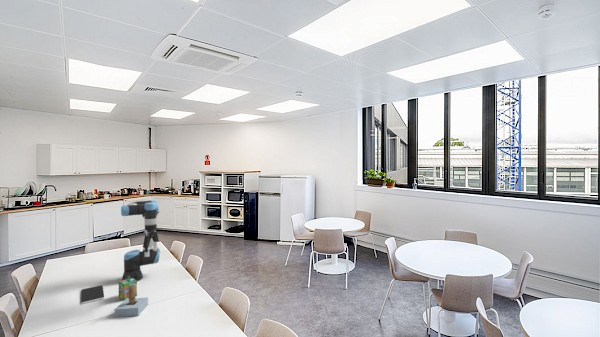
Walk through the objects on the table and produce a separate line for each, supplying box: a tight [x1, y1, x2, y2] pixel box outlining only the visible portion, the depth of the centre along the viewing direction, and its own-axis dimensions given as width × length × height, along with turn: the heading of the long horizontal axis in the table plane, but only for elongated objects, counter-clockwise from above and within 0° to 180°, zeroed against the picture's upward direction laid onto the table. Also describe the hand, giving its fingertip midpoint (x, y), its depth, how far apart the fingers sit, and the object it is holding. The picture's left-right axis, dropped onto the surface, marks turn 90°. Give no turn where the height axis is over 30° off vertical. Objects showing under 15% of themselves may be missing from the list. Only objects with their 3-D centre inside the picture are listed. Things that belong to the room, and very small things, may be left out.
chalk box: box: [118, 276, 138, 302], centre depth 204 cm, size 9×9×15 cm
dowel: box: [129, 285, 136, 305], centre depth 184 cm, size 4×4×16 cm
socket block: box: [114, 297, 149, 318], centre depth 184 cm, size 14×14×5 cm
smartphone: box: [80, 284, 105, 305], centre depth 208 cm, size 13×27×2 cm, turn 37°
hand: (151, 253), depth 202 cm, fingers open, 13 cm apart
